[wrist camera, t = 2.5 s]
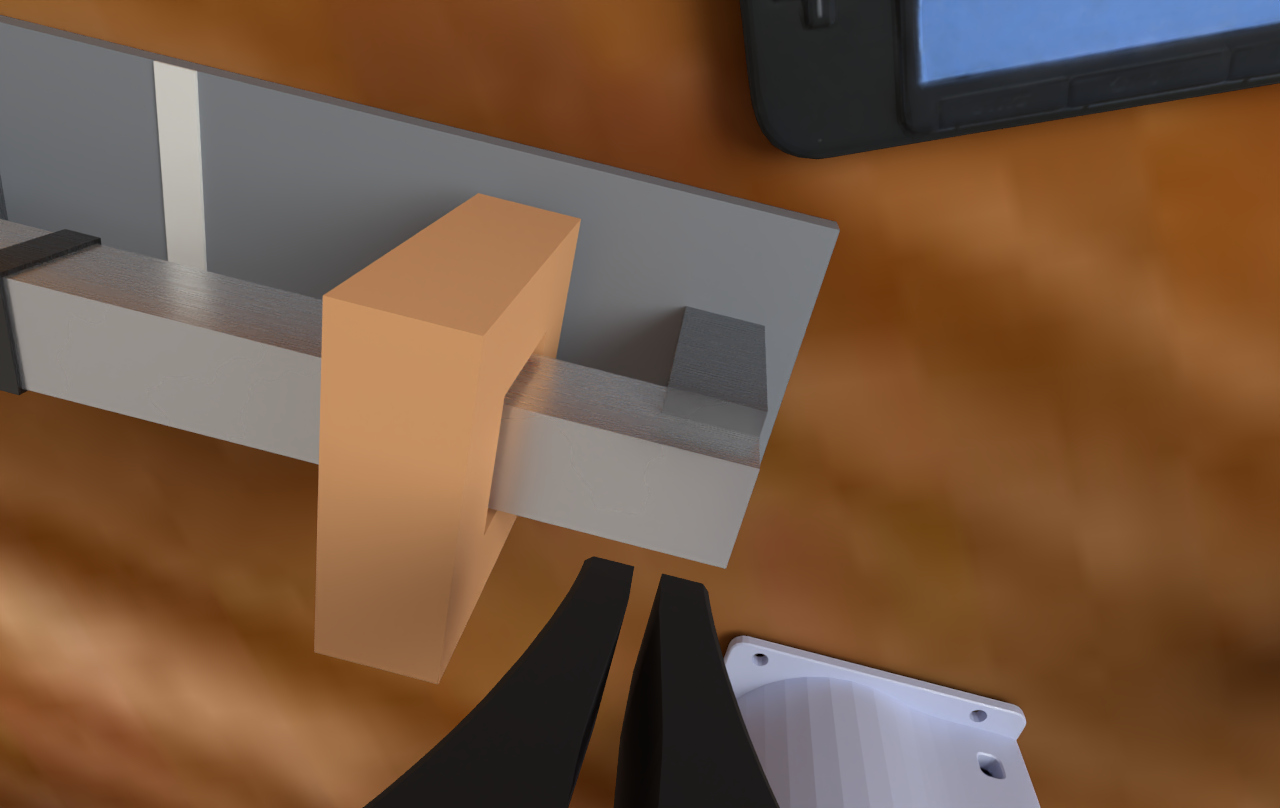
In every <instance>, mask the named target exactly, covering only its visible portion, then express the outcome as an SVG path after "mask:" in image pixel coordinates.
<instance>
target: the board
mask: <svg viewBox="0 0 1280 808" xmlns="http://www.w3.org/2000/svg"><path fill="white" fill-rule="evenodd" d="M0 175H1V181H2V187H3V193H4V199H5V205H6V210H7V216H8V221H11V222H15V223H19V224H23V225H27V226H31V227H35V228H39V229H42V230H46V231H50V232H57V231H60V230H63V229H68V230H72V231H76V232H80V233H84V234H88V235H92V236H96V237H100V238H101V244H102V245H106V246H110V247H114V248H118V249H122V250H126V251H130V252H134V253H138V254H142V255H145V256H149V257H153V258H157V259H161V260H165V261H169V262H173V263H177V264H181V265H185V266H189V267H193V268H197V269H201V270H205V271H209V272H213V273H217V274H221V275H225V276H229V277H233V278H237V279H241V280H245V281H248V282H252V283H256V284H260V285H264V286H268V287H272V288H276V289H280V290H284V291H288V292H292V293H296V294H300V295H304V296H308V297H312V298H316V299H320V300H323V295H324V294H326V293H328V292H329V291H331V290H332V289H334V288H335V287H337V286H338V285H340V284H341V283H343V282H344V281H346V280H347V279H349V278H350V277H352V276H353V275H355V274H356V273H358V272H359V271H361V270H362V269H364V268H365V267H367V266H368V265H370V264H372V263H373V262H375V261H376V260H378V259H379V258H381V257H382V256H384V255H385V254H387V253H388V252H390V251H391V250H393V249H394V248H396V247H397V246H399V245H400V244H402V243H403V242H405V241H406V240H408V239H409V238H411V237H413V236H414V235H416V234H417V233H419V232H420V231H422V230H423V229H425V228H426V227H428V226H429V225H431V224H432V223H434V222H435V221H437V220H438V219H440V218H441V217H443V216H444V215H446V214H447V213H449V212H450V211H452V210H454V209H455V208H457V207H458V206H460V205H461V204H463V203H464V202H466V201H467V200H469V199H470V198H472V197H473V196H475V195H476V194H478V193H480V194H484V195H488V196H492V197H496V198H500V199H504V200H508V201H512V202H516V203H520V204H524V205H528V206H532V207H536V208H540V209H544V210H548V211H552V212H556V213H560V214H564V215H568V216H572V217H576V218H580V219H581V222H580V228H579V233H578V239H577V244H576V250H575V255H574V261H573V267H572V272H571V278H570V283H569V289H568V294H567V300H566V305H565V311H564V316H563V322H562V328H561V333H560V339H559V344H558V350H557V355H556V359H557V360H561V361H565V362H569V363H573V364H577V365H581V366H585V367H589V368H593V369H597V370H601V371H605V372H609V373H613V374H617V375H621V376H625V377H629V378H633V379H637V380H641V381H645V382H649V383H653V384H657V385H660V386H664V387H666V383H667V379H668V375H669V371H670V367H671V363H672V360H673V356H674V352H675V348H676V344H677V340H678V336H679V332H680V329H681V325H682V321H683V317H684V313H685V309H686V306H688V307H692V308H696V309H700V310H704V311H708V312H712V313H716V314H720V315H724V316H728V317H732V318H736V319H740V320H744V321H748V322H752V323H756V324H760V325H764V326H765V347H766V374H767V400H768V413H767V416H766V419H765V422H764V425H763V428H762V431H761V434H760V437H759V453H760V463H761V460H762V457H763V454H764V452H765V449H766V446H767V443H768V440H769V437H770V434H771V431H772V428H773V425H774V422H775V419H776V416H777V413H778V410H779V407H780V405H781V402H782V399H783V396H784V393H785V390H786V387H787V384H788V381H789V378H790V375H791V372H792V369H793V366H794V363H795V360H796V357H797V355H798V352H799V349H800V346H801V343H802V340H803V337H804V334H805V331H806V328H807V325H808V322H809V319H810V316H811V313H812V310H813V308H814V305H815V302H816V299H817V296H818V293H819V290H820V287H821V284H822V281H823V278H824V275H825V272H826V269H827V266H828V263H829V260H830V258H831V255H832V252H833V249H834V246H835V243H836V240H837V237H838V234H839V231H840V230H839V227H838V225H837V222H834V221H830V220H826V219H822V218H818V217H814V216H810V215H806V214H802V213H798V212H794V211H790V210H786V209H782V208H778V207H774V206H770V205H766V204H762V203H758V202H754V201H749V200H745V199H741V198H737V197H733V196H729V195H725V194H721V193H717V192H713V191H709V190H705V189H701V188H697V187H693V186H689V185H685V184H681V183H677V182H673V181H669V180H665V179H661V178H657V177H653V176H649V175H645V174H640V173H636V172H632V171H628V170H624V169H620V168H616V167H612V166H608V165H604V164H600V163H596V162H592V161H588V160H584V159H580V158H576V157H572V156H568V155H564V154H560V153H556V152H552V151H548V150H544V149H540V148H536V147H531V146H527V145H523V144H519V143H515V142H511V141H507V140H503V139H499V138H495V137H491V136H487V135H483V134H479V133H475V132H471V131H467V130H463V129H459V128H455V127H451V126H447V125H443V124H439V123H435V122H431V121H427V120H423V119H418V118H414V117H410V116H406V115H402V114H398V113H394V112H390V111H386V110H382V109H378V108H374V107H370V106H366V105H362V104H358V103H354V102H350V101H346V100H342V99H338V98H334V97H330V96H326V95H322V94H318V93H314V92H309V91H305V90H301V89H297V88H293V87H289V86H285V85H281V84H277V83H273V82H269V81H265V80H261V79H257V78H253V77H249V76H245V75H241V74H237V73H233V72H229V71H225V70H221V69H217V68H213V67H209V66H205V65H200V64H196V63H192V62H188V61H184V60H180V59H176V58H172V57H168V56H164V55H160V54H156V53H152V52H148V51H144V50H140V49H136V48H132V47H128V46H124V45H120V44H116V43H112V42H108V41H104V40H100V39H96V38H92V37H87V36H83V35H79V34H75V33H71V32H67V31H63V30H59V29H55V28H51V27H47V26H43V25H39V24H35V23H31V22H27V21H23V20H19V19H15V18H11V17H7V16H3V15H0Z"/></svg>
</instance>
